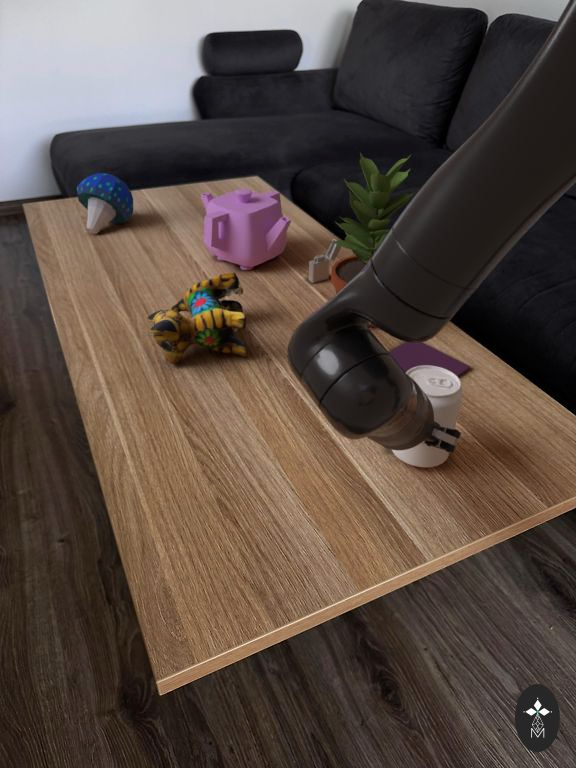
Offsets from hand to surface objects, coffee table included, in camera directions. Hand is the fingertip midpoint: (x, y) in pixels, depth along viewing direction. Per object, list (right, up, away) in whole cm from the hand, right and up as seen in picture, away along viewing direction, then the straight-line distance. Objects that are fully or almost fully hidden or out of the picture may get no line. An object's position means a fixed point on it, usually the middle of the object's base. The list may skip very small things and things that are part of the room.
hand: (419, 433), depth 77 cm
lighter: (-9, +29, +49) cm, 57 cm away
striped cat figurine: (-33, +14, +29) cm, 46 cm away
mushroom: (-62, +46, +71) cm, 105 cm away
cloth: (+5, +9, +23) cm, 25 cm away
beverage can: (+1, -3, +6) cm, 7 cm away
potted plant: (-2, +20, +36) cm, 42 cm away
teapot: (-27, +35, +57) cm, 72 cm away
